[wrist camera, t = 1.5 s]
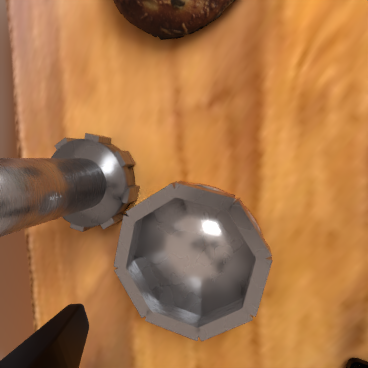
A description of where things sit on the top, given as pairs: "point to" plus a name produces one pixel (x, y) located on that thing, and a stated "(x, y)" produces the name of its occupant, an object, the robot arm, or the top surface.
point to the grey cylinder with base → (68, 186)
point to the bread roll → (171, 15)
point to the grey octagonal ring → (193, 260)
